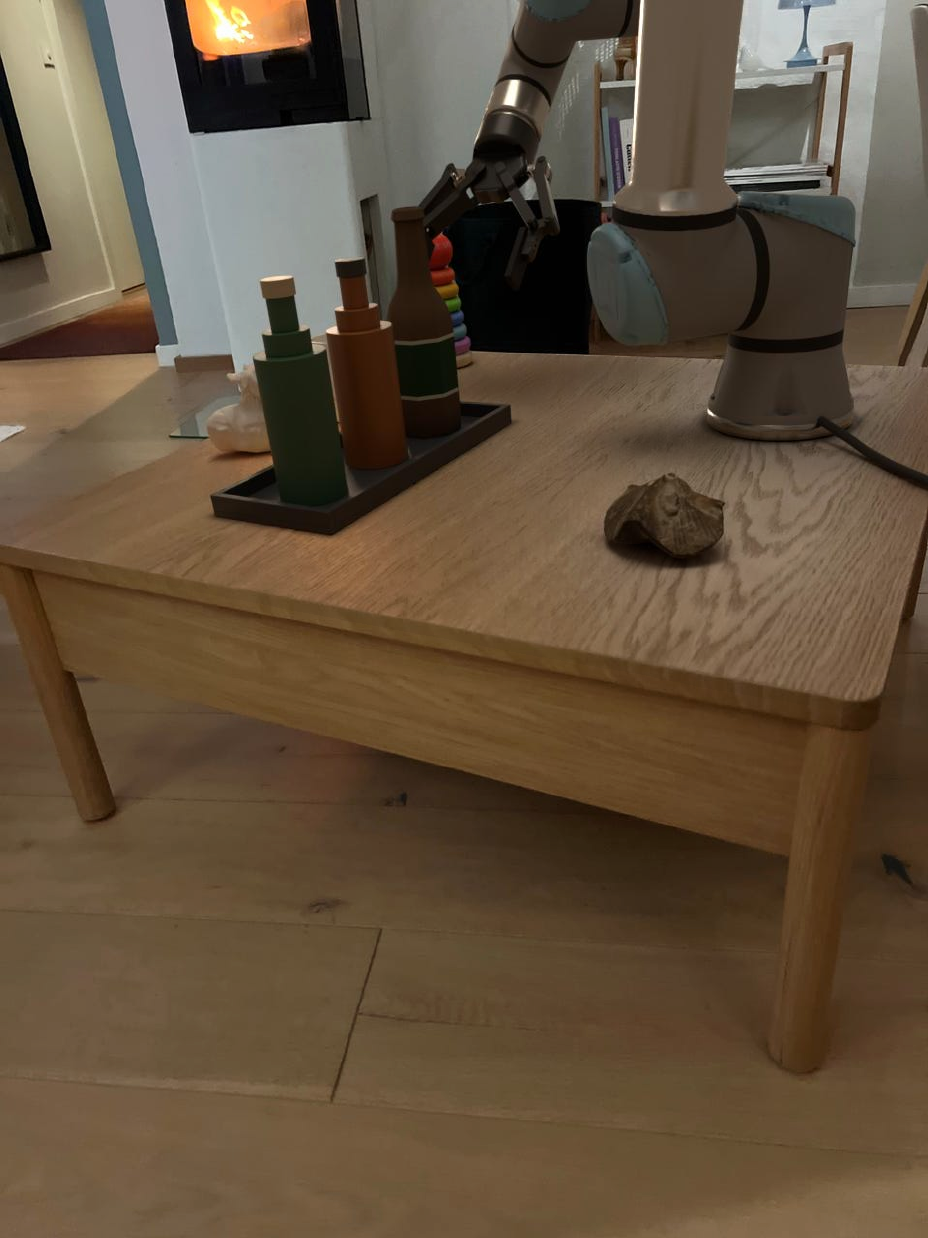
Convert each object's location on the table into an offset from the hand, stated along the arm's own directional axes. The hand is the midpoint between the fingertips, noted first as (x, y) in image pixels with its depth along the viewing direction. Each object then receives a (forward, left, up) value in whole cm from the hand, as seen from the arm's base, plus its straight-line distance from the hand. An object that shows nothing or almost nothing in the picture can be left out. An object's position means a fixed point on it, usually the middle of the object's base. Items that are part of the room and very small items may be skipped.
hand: (460, 284), depth 107 cm
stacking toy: (+25, -12, -16) cm, 32 cm away
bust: (+6, +25, -16) cm, 30 cm away
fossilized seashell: (-46, +10, -16) cm, 49 cm away
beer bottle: (-4, +8, -15) cm, 18 cm away
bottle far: (-15, +28, -15) cm, 35 cm away
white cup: (+11, +11, -16) cm, 22 cm away
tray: (-9, +18, -15) cm, 26 cm away
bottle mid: (-9, +18, -15) cm, 25 cm away
